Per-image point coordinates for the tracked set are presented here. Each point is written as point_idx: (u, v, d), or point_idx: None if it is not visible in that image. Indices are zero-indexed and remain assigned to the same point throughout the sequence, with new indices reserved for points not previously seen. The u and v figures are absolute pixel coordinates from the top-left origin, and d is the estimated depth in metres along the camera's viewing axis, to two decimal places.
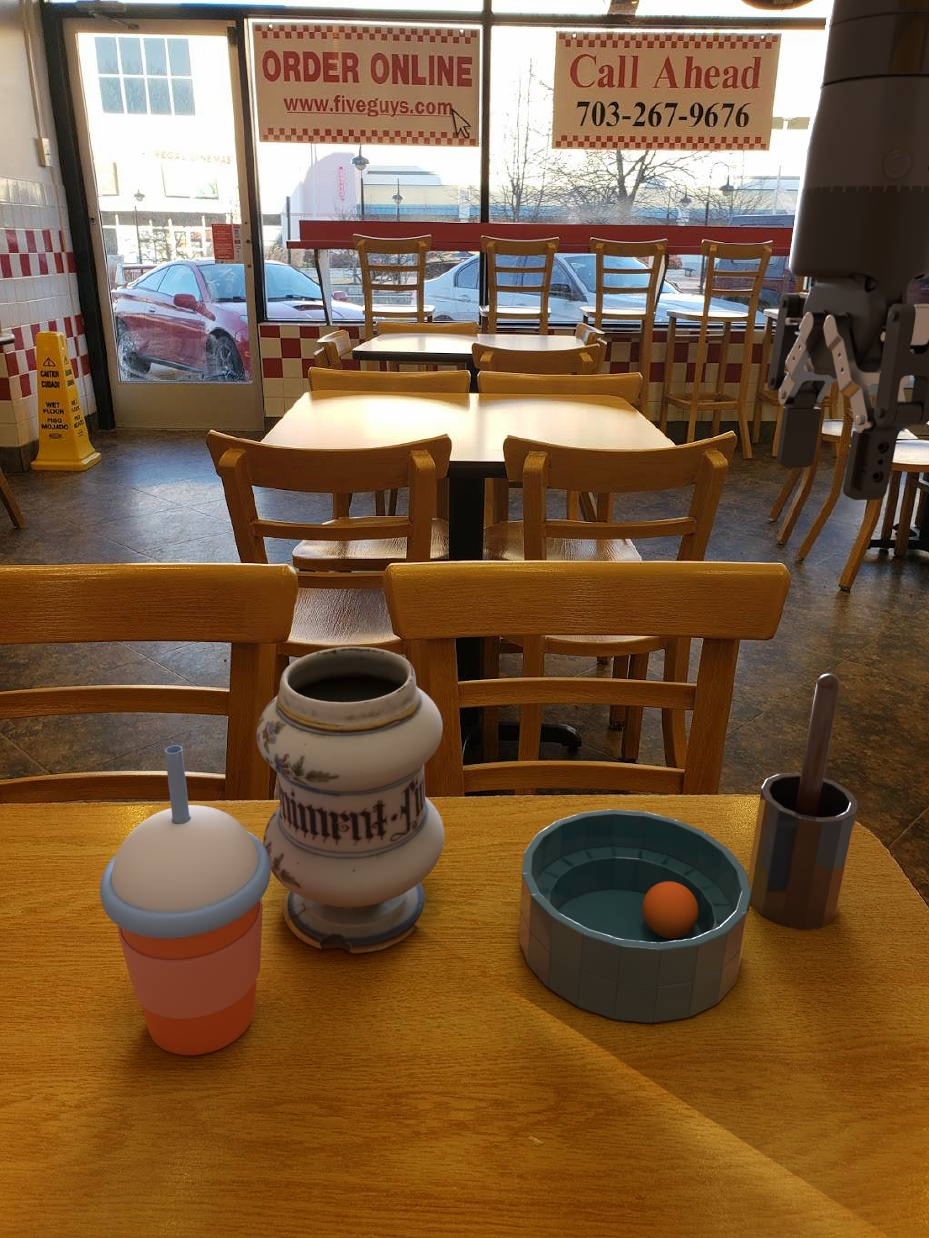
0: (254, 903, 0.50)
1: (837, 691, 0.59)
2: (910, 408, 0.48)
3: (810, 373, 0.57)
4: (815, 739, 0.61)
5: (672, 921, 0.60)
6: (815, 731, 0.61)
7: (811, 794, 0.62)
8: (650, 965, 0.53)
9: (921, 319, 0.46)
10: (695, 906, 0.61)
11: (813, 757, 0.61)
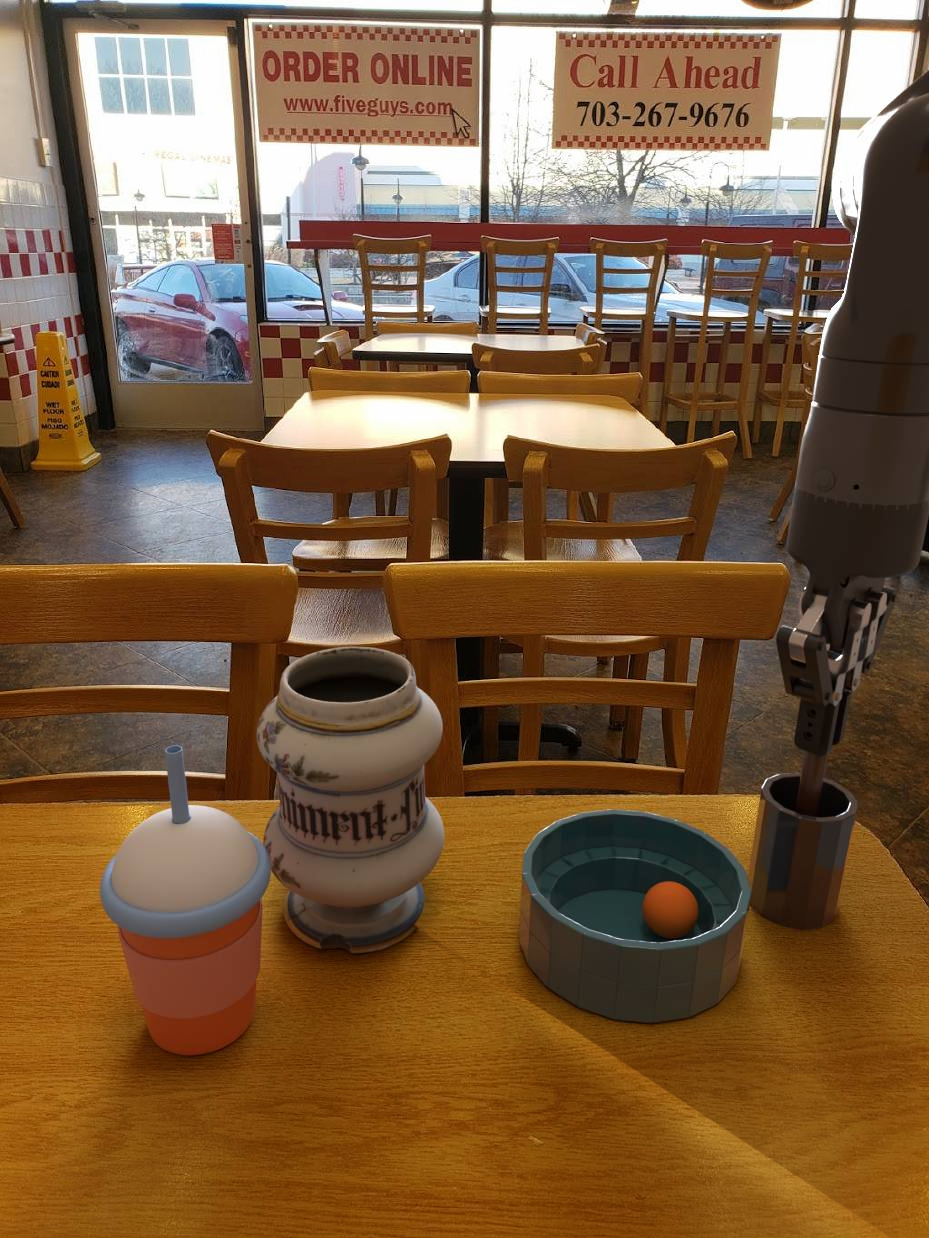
0: (254, 903, 0.50)
1: None
2: (807, 688, 0.57)
3: None
4: None
5: (672, 921, 0.60)
6: None
7: (811, 794, 0.62)
8: (650, 965, 0.53)
9: (794, 649, 0.54)
10: (695, 906, 0.61)
11: (813, 758, 0.61)
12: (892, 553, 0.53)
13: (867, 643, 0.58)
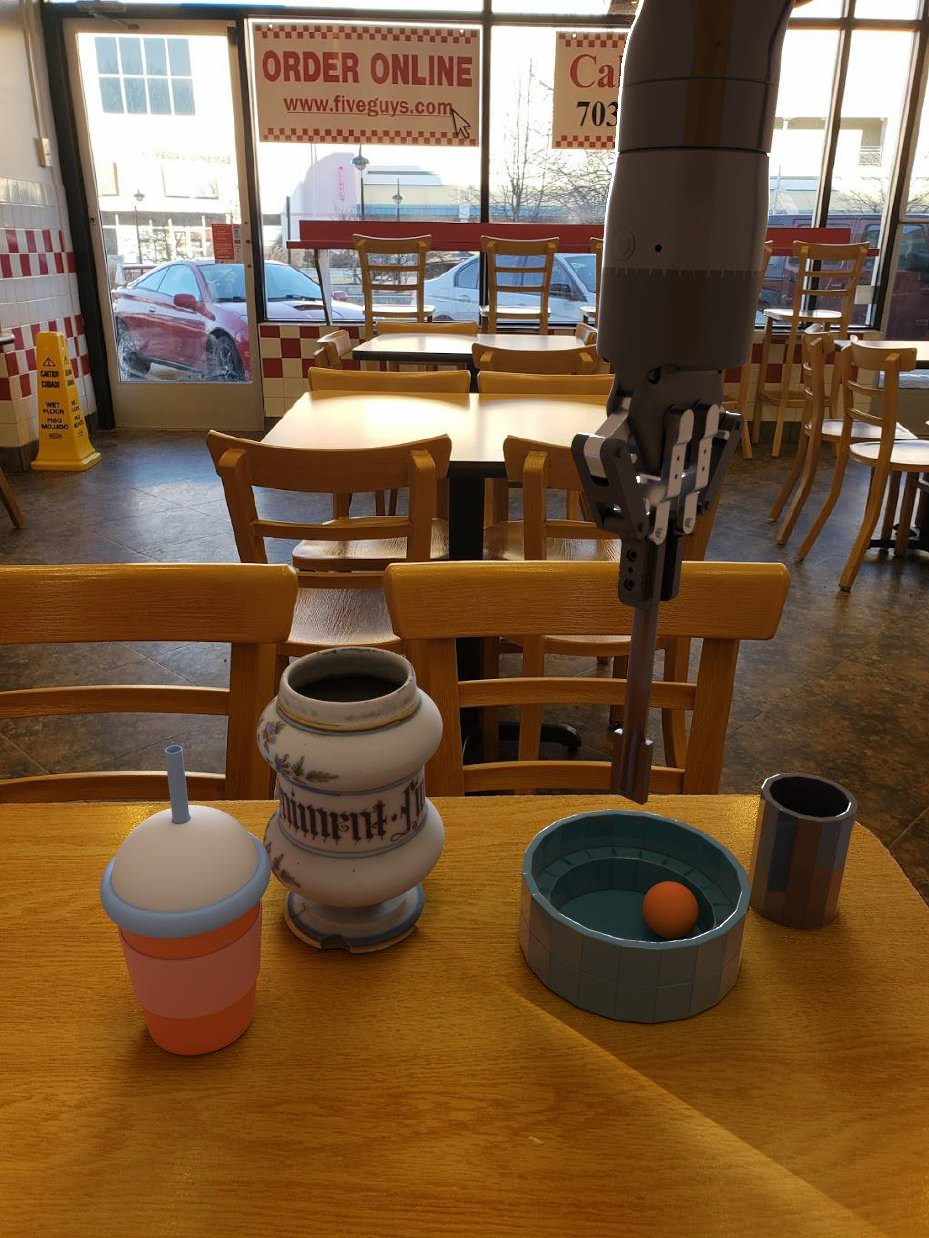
0: (254, 903, 0.50)
1: None
2: (618, 518, 0.47)
3: None
4: None
5: (672, 921, 0.60)
6: None
7: (641, 662, 0.52)
8: (650, 965, 0.53)
9: (591, 459, 0.44)
10: (695, 906, 0.61)
11: (640, 615, 0.51)
12: (707, 336, 0.43)
13: (697, 469, 0.48)
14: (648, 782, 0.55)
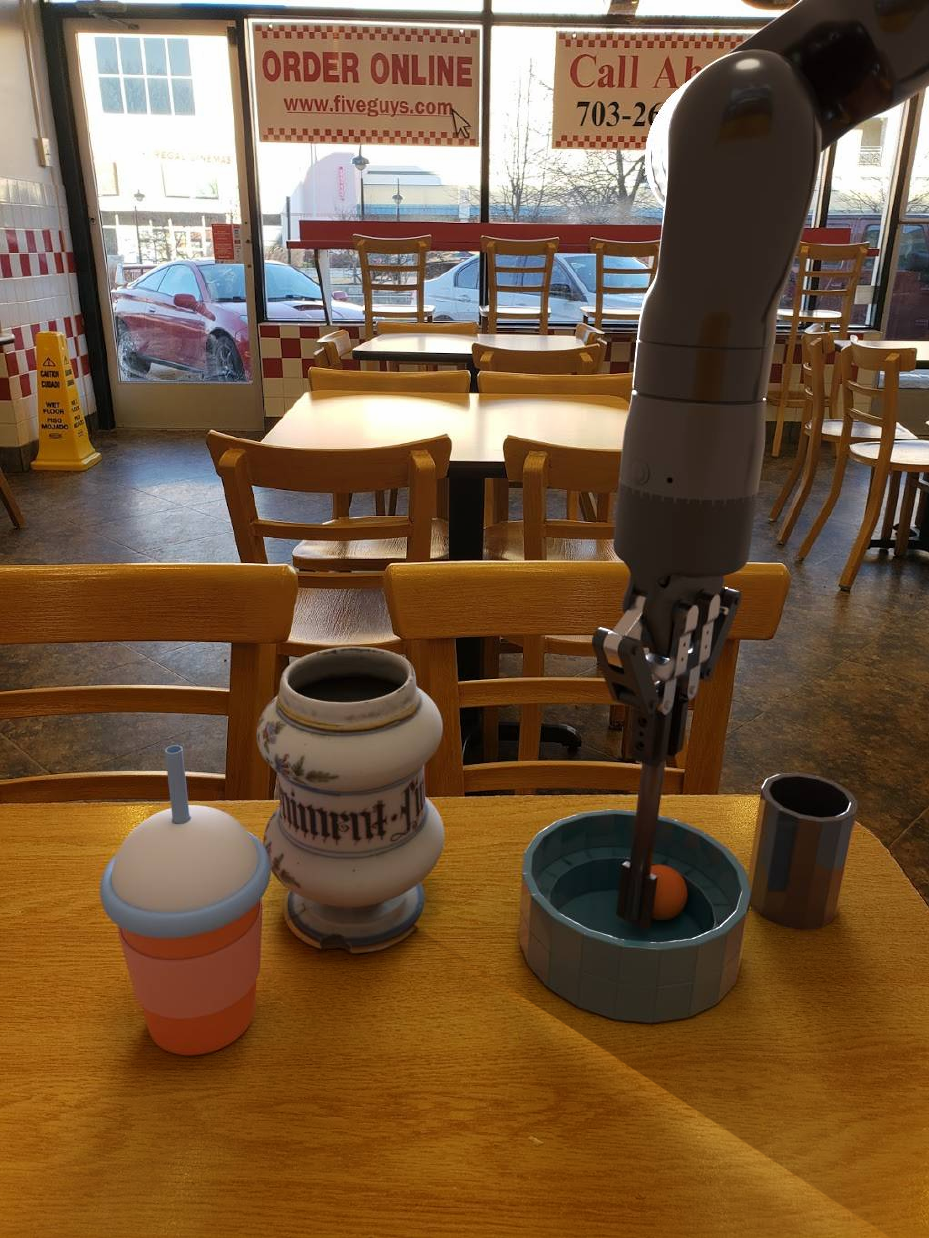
0: (254, 903, 0.50)
1: None
2: (631, 695, 0.53)
3: None
4: None
5: None
6: None
7: (648, 808, 0.58)
8: (650, 965, 0.53)
9: (609, 653, 0.51)
10: (680, 893, 0.62)
11: (648, 769, 0.58)
12: (711, 552, 0.49)
13: (700, 648, 0.55)
14: (652, 911, 0.61)
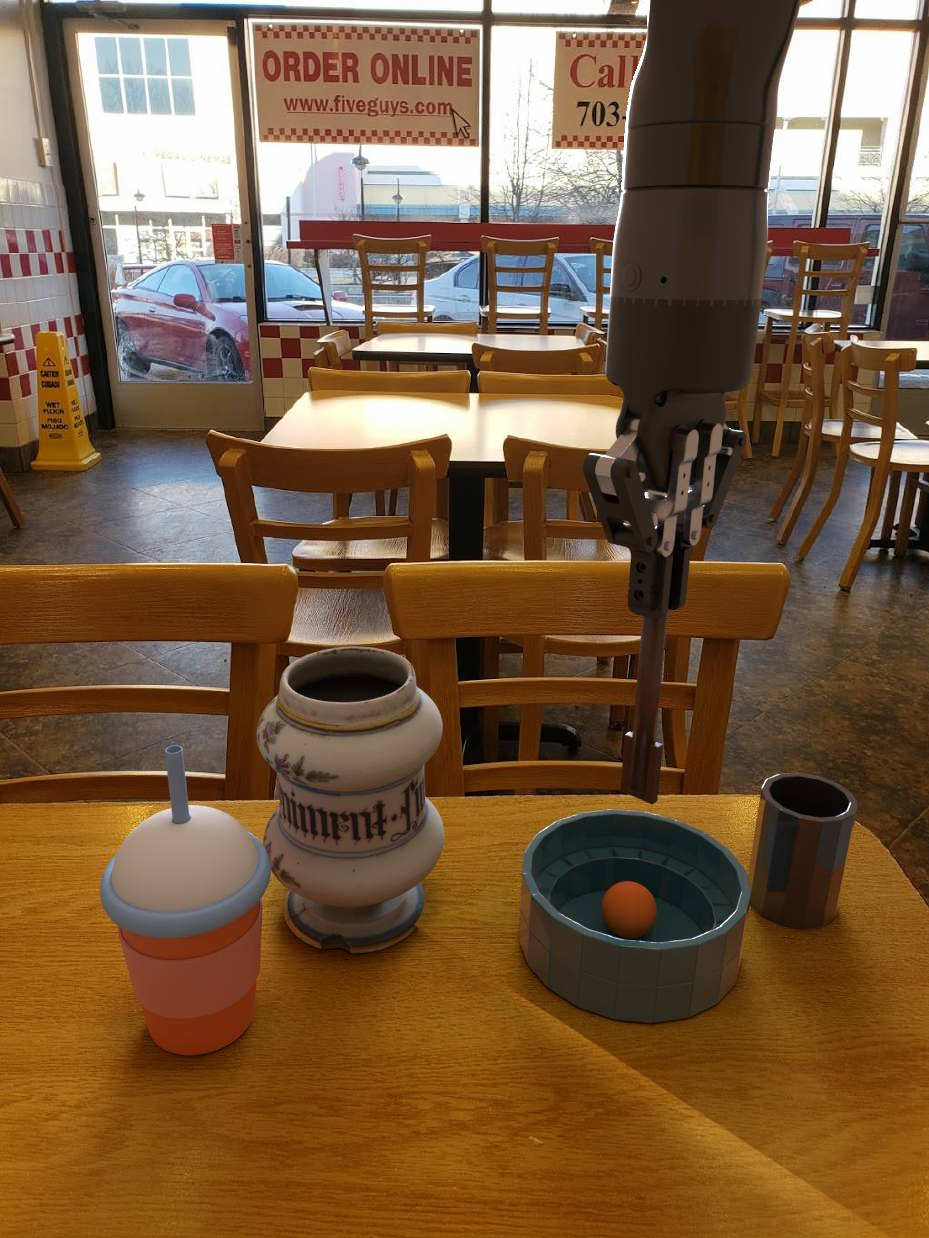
0: (254, 903, 0.50)
1: None
2: (628, 533, 0.49)
3: None
4: None
5: None
6: None
7: (650, 668, 0.55)
8: (650, 965, 0.53)
9: (602, 478, 0.47)
10: (639, 934, 0.61)
11: (649, 624, 0.54)
12: (711, 361, 0.45)
13: (702, 485, 0.51)
14: (658, 782, 0.57)
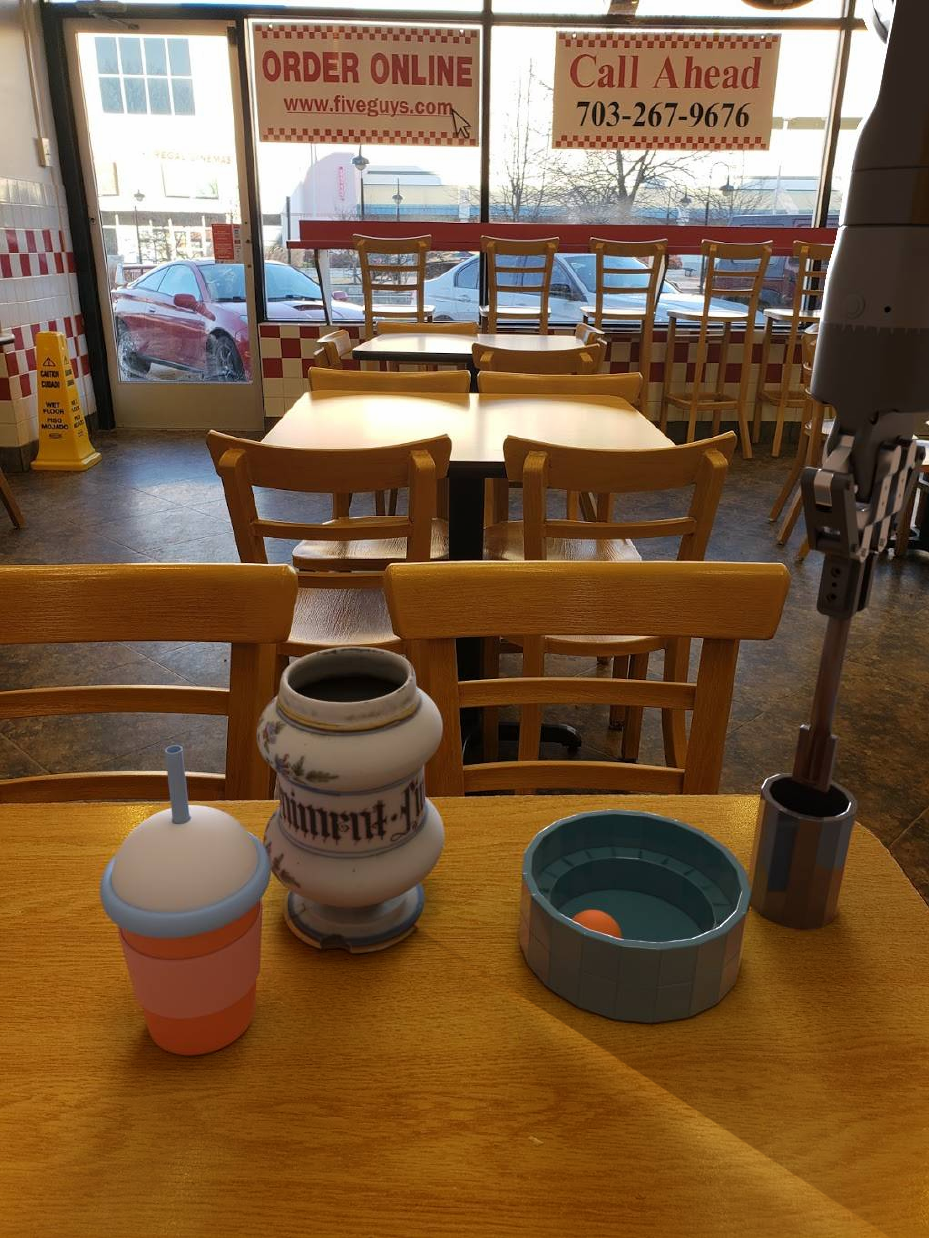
0: (254, 903, 0.50)
1: None
2: (832, 540, 0.53)
3: None
4: None
5: None
6: None
7: (833, 665, 0.59)
8: (650, 965, 0.53)
9: (820, 490, 0.51)
10: None
11: (835, 624, 0.58)
12: (926, 384, 0.49)
13: (895, 496, 0.55)
14: (831, 772, 0.61)
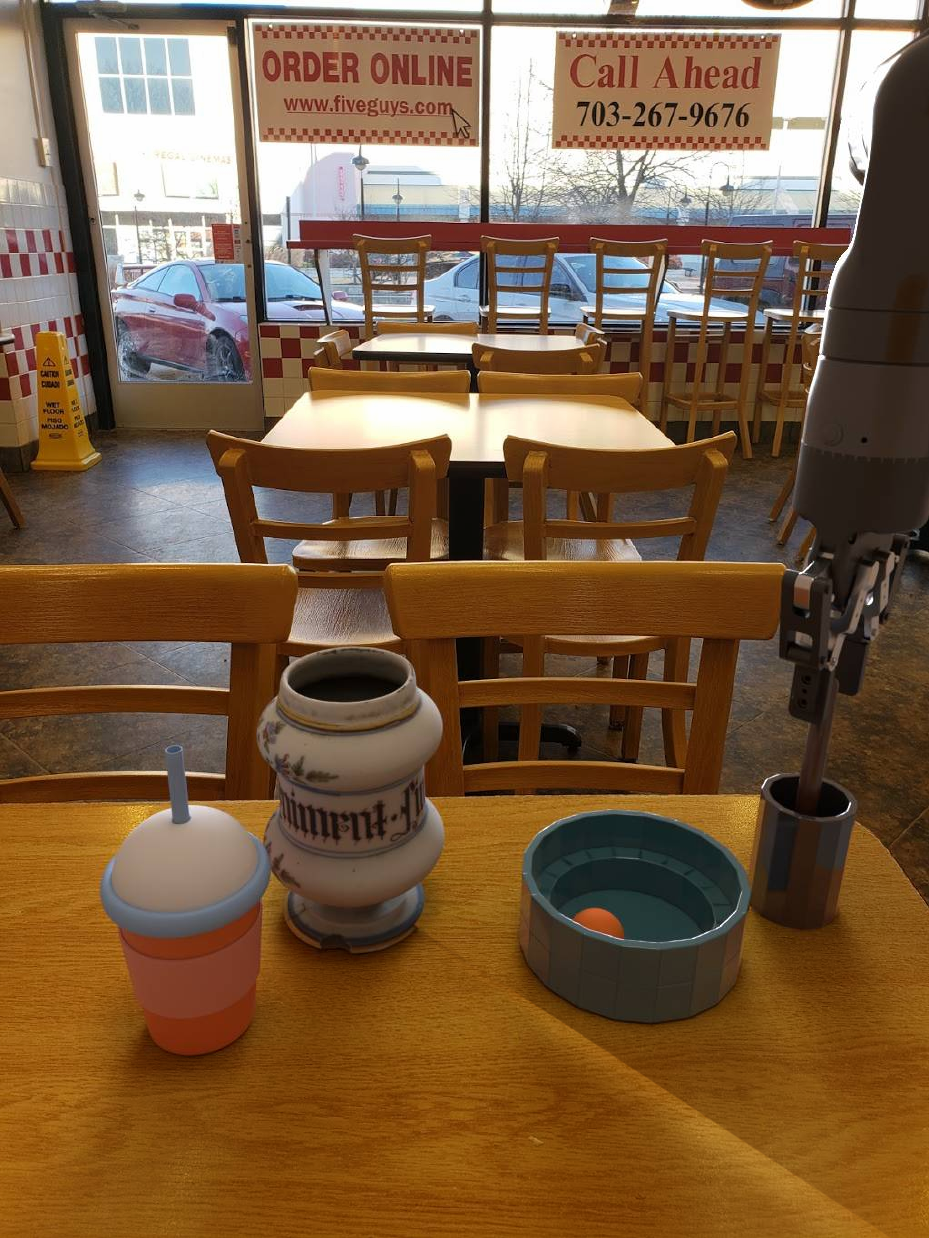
0: (254, 903, 0.50)
1: (836, 691, 0.59)
2: (801, 652, 0.54)
3: None
4: (814, 739, 0.61)
5: None
6: (814, 731, 0.61)
7: (810, 794, 0.62)
8: (650, 965, 0.53)
9: (799, 591, 0.52)
10: None
11: (812, 757, 0.61)
12: (901, 508, 0.52)
13: (880, 601, 0.58)
14: None
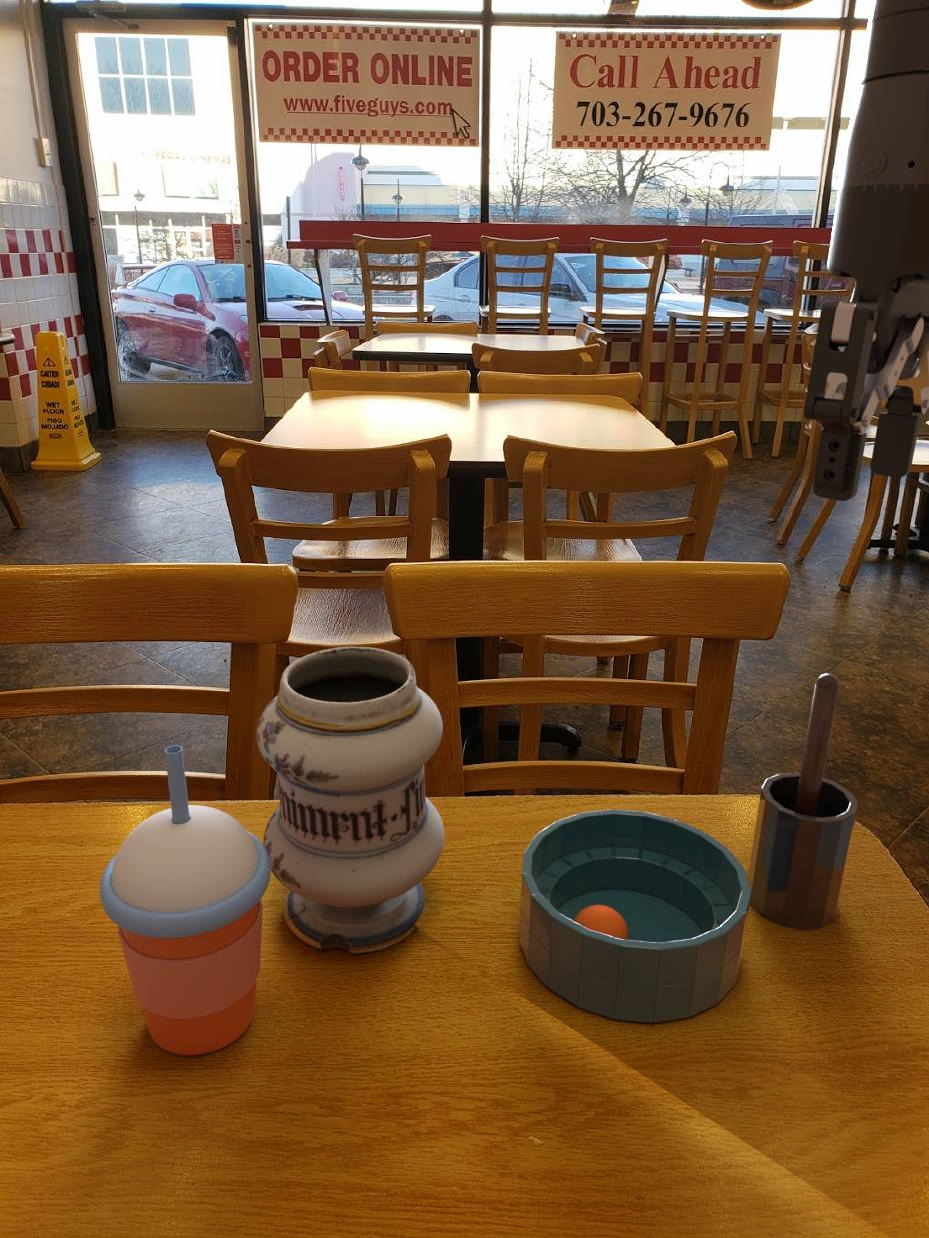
0: (254, 903, 0.50)
1: (836, 691, 0.59)
2: (829, 405, 0.48)
3: None
4: (814, 739, 0.61)
5: None
6: (814, 731, 0.61)
7: (810, 794, 0.62)
8: (650, 965, 0.53)
9: (841, 316, 0.47)
10: None
11: (812, 757, 0.61)
12: None
13: (928, 371, 0.53)
14: None
